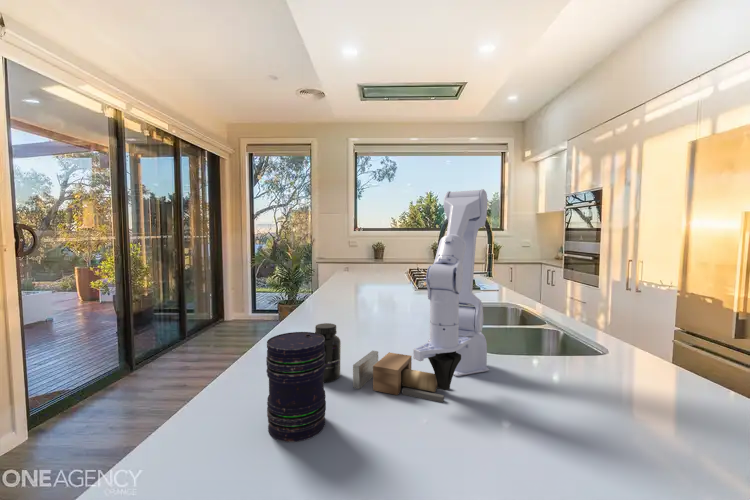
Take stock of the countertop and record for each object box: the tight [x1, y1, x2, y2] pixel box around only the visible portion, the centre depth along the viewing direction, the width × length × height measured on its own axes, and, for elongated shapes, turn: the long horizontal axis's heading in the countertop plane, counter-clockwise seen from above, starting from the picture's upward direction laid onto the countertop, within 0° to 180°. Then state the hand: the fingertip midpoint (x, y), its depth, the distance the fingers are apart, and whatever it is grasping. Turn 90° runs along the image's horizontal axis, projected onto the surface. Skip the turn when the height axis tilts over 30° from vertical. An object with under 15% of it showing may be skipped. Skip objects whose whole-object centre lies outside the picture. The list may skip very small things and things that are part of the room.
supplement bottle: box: [314, 322, 342, 383], centre depth 78 cm, size 7×7×12 cm
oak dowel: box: [401, 369, 438, 393], centre depth 73 cm, size 7×4×4 cm, turn 65°
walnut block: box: [372, 352, 413, 396], centre depth 74 cm, size 6×9×5 cm, turn 156°
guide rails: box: [401, 384, 451, 403], centre depth 71 cm, size 8×7×1 cm
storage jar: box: [266, 331, 327, 443], centre depth 58 cm, size 10×10×15 cm
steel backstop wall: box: [352, 350, 379, 390], centre depth 77 cm, size 2×10×5 cm, turn 156°
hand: (443, 387), depth 70 cm, fingers closed
